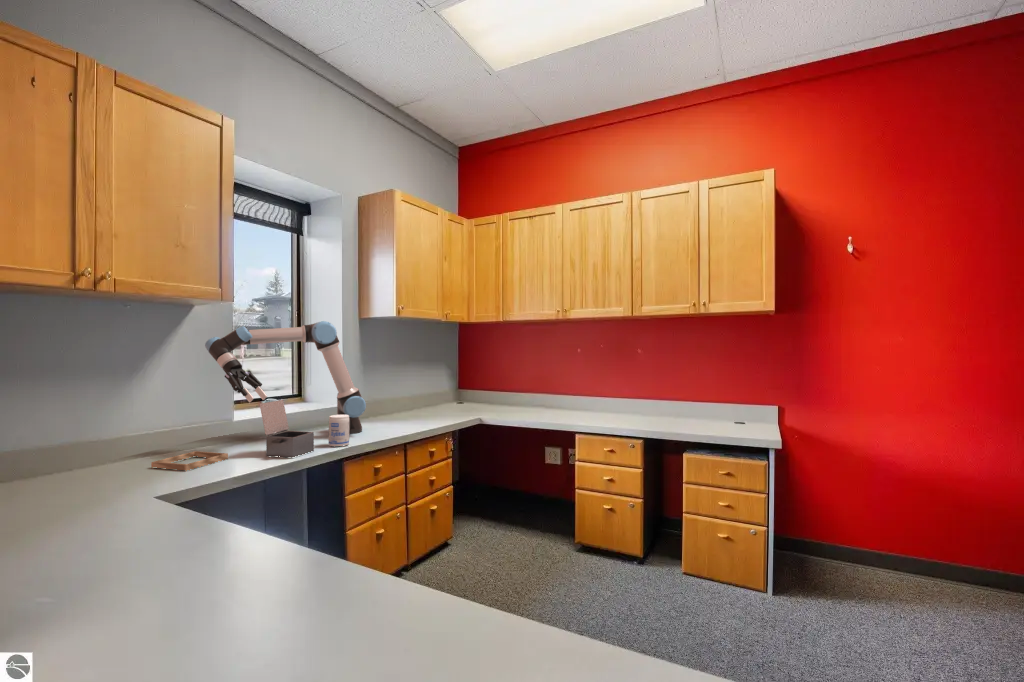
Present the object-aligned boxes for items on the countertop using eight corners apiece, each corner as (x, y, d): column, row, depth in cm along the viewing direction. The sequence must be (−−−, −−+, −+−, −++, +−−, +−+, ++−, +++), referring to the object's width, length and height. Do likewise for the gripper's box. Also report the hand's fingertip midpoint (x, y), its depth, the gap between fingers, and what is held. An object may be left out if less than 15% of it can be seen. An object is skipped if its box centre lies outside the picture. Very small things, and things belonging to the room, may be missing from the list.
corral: (195, 456, 215) (195, 451, 215) (227, 459, 210) (227, 453, 210) (151, 468, 196) (151, 462, 196) (186, 471, 191) (186, 464, 191)
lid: (289, 430, 228) (286, 430, 229) (283, 399, 229) (280, 400, 230) (267, 435, 215) (264, 436, 215) (261, 403, 216) (258, 404, 216)
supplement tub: (330, 448, 231) (329, 417, 231) (327, 444, 239) (327, 415, 239) (351, 446, 236) (350, 416, 236) (347, 442, 244) (347, 413, 244)
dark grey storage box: (291, 448, 231) (291, 429, 231) (317, 450, 227) (316, 431, 227) (262, 457, 213) (262, 437, 213) (289, 459, 209) (289, 439, 209)
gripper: (242, 368, 239) (269, 401, 235) (206, 371, 219) (236, 407, 215) (251, 358, 238) (279, 391, 234) (216, 359, 218) (245, 396, 214)
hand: (258, 399), depth 224 cm, fingers open, 8 cm apart
